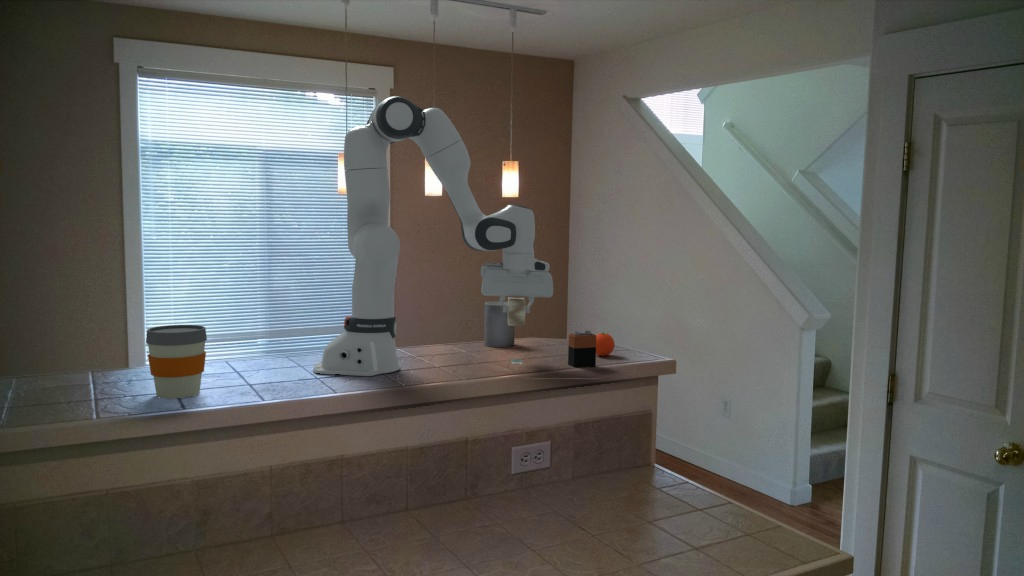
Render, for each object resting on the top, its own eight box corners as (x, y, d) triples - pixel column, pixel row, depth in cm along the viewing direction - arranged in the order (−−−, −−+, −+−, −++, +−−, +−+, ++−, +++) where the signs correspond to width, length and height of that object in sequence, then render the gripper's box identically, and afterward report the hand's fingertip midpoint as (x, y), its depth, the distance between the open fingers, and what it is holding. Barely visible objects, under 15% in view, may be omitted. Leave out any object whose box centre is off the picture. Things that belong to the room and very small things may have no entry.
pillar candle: (501, 341, 251) (501, 296, 249) (520, 345, 244) (520, 299, 242) (478, 344, 245) (478, 298, 243) (497, 348, 237) (497, 301, 236)
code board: (494, 367, 208) (494, 365, 208) (493, 358, 220) (493, 357, 220) (541, 367, 209) (541, 366, 209) (537, 359, 221) (537, 357, 221)
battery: (596, 367, 211) (597, 331, 210) (574, 368, 208) (575, 332, 207) (588, 364, 215) (589, 329, 214) (567, 365, 212) (568, 330, 211)
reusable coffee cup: (139, 393, 172) (137, 327, 170) (194, 385, 180) (193, 323, 179) (159, 403, 163) (157, 334, 161) (217, 394, 172) (215, 329, 170)
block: (508, 325, 209) (509, 300, 209) (507, 321, 217) (508, 297, 216) (524, 326, 210) (525, 300, 209) (523, 322, 217) (523, 297, 217)
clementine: (596, 352, 234) (597, 329, 233) (618, 354, 231) (619, 331, 230) (587, 356, 227) (588, 333, 226) (610, 358, 224) (610, 335, 223)
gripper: (481, 262, 208) (479, 312, 209) (555, 265, 209) (553, 314, 210) (480, 261, 214) (479, 310, 216) (552, 263, 215) (550, 312, 217)
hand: (516, 312), depth 213 cm, fingers closed on block, 4 cm apart
